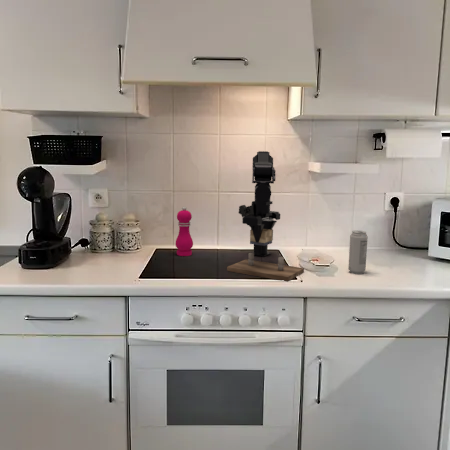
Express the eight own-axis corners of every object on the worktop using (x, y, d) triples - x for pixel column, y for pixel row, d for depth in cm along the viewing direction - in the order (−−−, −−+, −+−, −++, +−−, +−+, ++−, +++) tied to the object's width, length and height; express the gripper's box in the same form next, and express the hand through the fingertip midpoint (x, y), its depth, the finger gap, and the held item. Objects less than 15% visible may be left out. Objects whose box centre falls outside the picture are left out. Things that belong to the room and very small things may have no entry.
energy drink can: (354, 269, 182) (356, 229, 180) (368, 272, 178) (371, 231, 176) (344, 272, 178) (347, 231, 176) (359, 275, 174) (362, 234, 172)
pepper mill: (182, 257, 197) (181, 208, 194) (172, 254, 203) (171, 206, 199) (196, 254, 202) (196, 206, 198) (186, 251, 207) (186, 204, 204)
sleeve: (257, 241, 185) (258, 228, 184) (272, 243, 182) (272, 229, 181) (249, 243, 180) (250, 230, 179) (264, 245, 177) (264, 232, 176)
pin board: (245, 262, 190) (246, 247, 189) (303, 272, 177) (304, 256, 176) (227, 270, 178) (227, 254, 177) (287, 281, 166) (288, 264, 164)
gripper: (255, 195, 190) (254, 234, 193) (230, 199, 175) (229, 242, 177) (281, 197, 184) (280, 238, 187) (257, 201, 169) (256, 245, 171)
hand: (261, 240), depth 181 cm, fingers closed on sleeve, 6 cm apart
